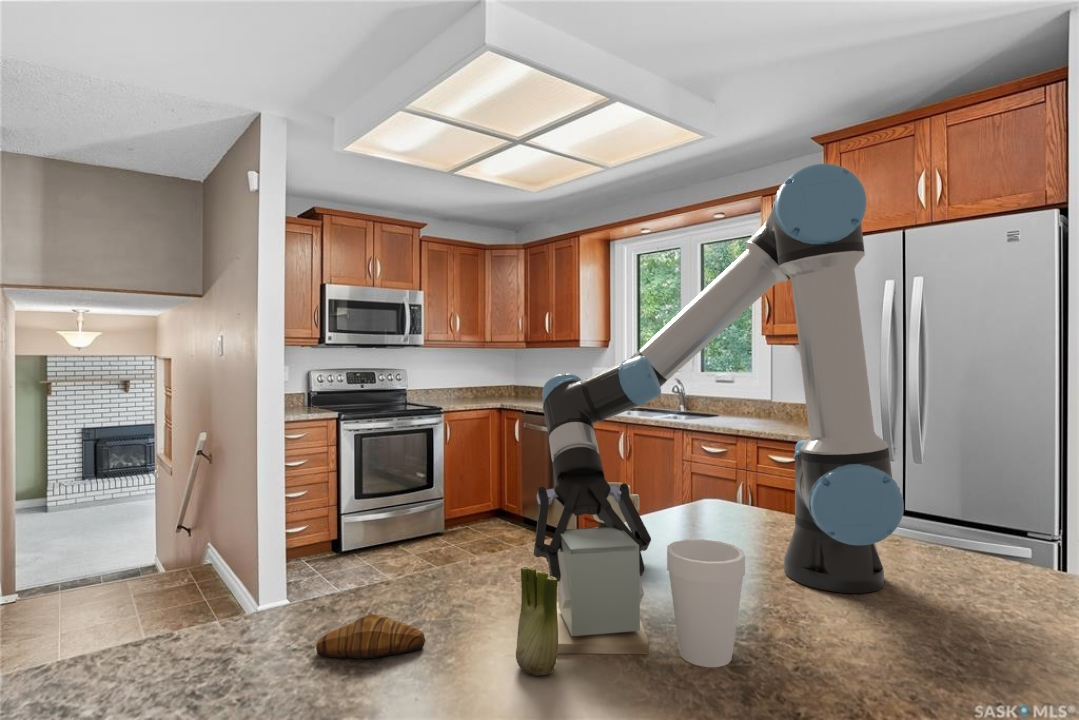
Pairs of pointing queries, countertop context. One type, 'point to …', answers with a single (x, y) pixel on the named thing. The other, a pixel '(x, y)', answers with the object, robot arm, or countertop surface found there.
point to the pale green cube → (601, 581)
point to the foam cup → (706, 598)
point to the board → (601, 641)
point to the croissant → (370, 639)
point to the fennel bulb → (537, 623)
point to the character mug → (616, 506)
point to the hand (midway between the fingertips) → (603, 601)
